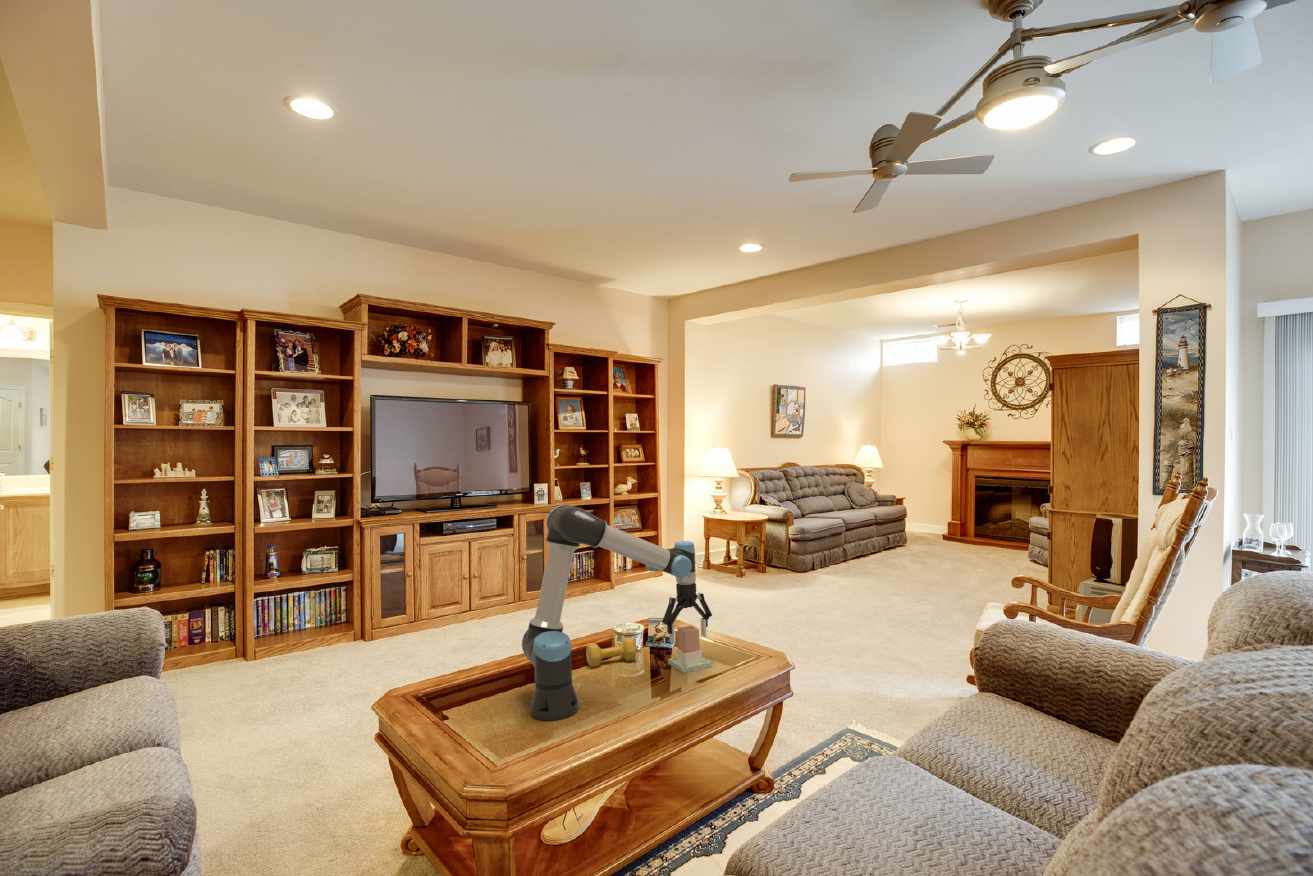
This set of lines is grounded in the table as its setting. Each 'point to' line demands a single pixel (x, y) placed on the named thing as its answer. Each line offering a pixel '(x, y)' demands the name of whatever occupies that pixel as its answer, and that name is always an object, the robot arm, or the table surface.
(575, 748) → the table surface
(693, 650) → the top brick
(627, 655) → the dumbbell
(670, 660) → the tower base
